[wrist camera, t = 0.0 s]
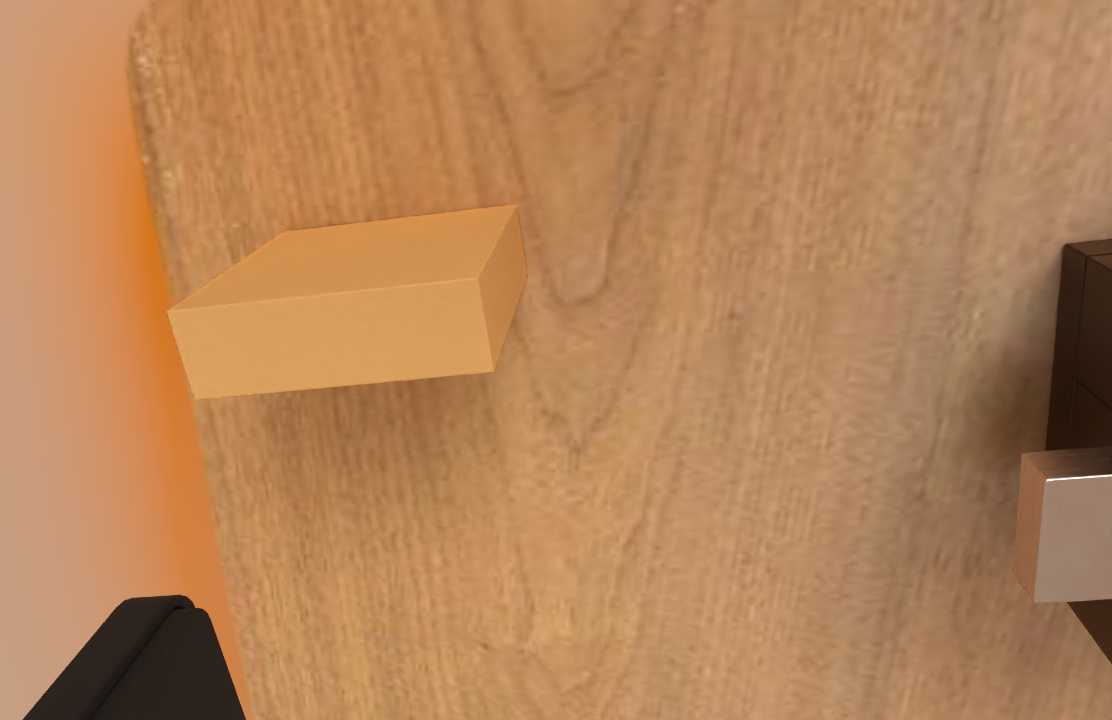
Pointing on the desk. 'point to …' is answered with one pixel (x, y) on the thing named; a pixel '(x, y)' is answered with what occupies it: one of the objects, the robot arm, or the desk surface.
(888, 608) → the desk surface
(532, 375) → the desk surface
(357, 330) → the toast
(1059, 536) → the lever
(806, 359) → the desk surface
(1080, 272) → the toaster
